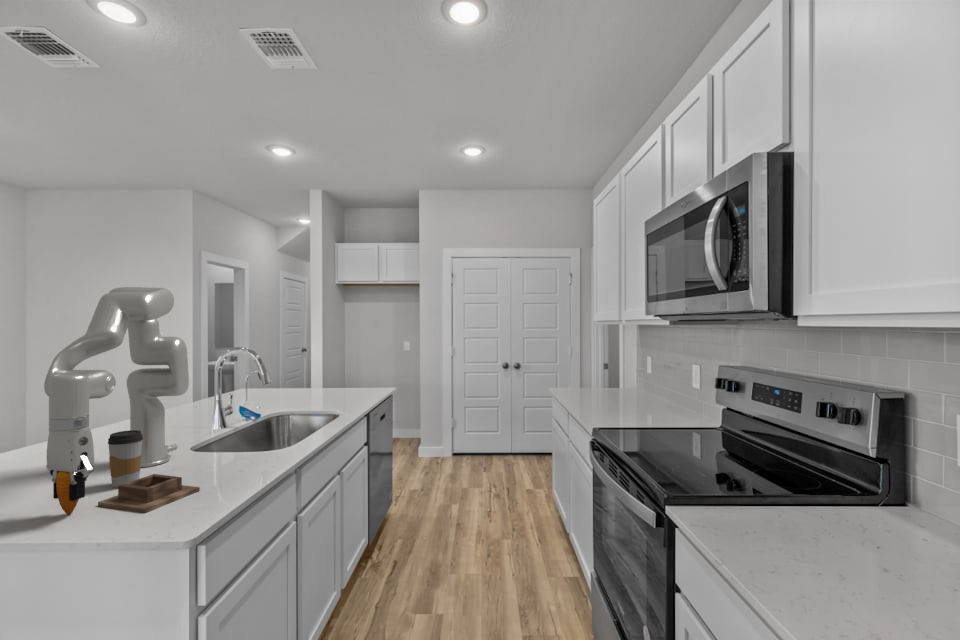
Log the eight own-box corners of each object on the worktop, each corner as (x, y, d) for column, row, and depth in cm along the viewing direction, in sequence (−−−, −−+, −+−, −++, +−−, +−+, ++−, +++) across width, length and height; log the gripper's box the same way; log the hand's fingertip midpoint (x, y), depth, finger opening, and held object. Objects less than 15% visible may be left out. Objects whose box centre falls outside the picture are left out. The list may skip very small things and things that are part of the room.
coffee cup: (150, 481, 141) (150, 431, 141) (120, 491, 133) (120, 437, 133) (130, 478, 144) (130, 428, 144) (100, 487, 136) (100, 435, 136)
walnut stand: (155, 485, 138) (155, 469, 138) (199, 490, 133) (199, 474, 133) (97, 506, 122) (97, 488, 122) (145, 513, 118) (145, 495, 118)
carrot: (66, 511, 119) (66, 451, 119) (87, 510, 120) (87, 451, 120) (50, 519, 114) (50, 457, 114) (72, 518, 115) (72, 456, 115)
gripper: (110, 423, 118) (110, 496, 118) (62, 418, 123) (62, 489, 123) (77, 429, 111) (77, 507, 111) (27, 425, 116) (27, 499, 116)
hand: (69, 497), depth 117 cm, fingers closed on carrot, 4 cm apart
